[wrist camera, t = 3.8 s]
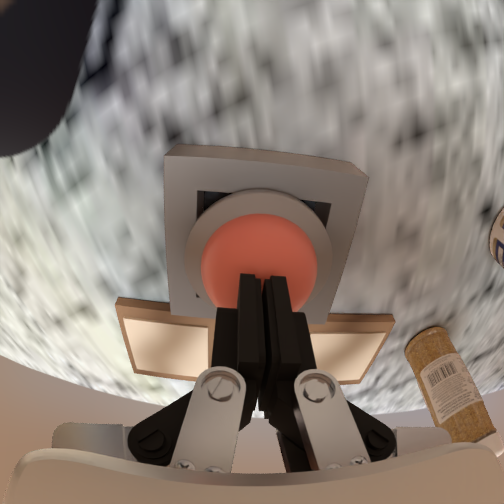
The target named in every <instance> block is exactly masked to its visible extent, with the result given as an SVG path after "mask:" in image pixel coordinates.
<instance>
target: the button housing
mask: <svg viewBox="0 0 504 504" xmlns="http://www.w3.org/2000/svg"><path fill="white" fill-rule="evenodd" d="M368 179H369V177H368V176H367V175H366V174H364V173H363V172H362V171H361V170H360V169H358V168H357V167H356V166H355V165H353V164H352V163H351V162H346V161H340V160H334V159H328V158H321V157H315V156H308V155H301V154H293V153H285V152H277V151H268V150H258V149H248V148H236V147H223V146H207V145H186V144H177V145H176V146H175V147H173V148H172V149H171V150H170V151H169V152H168V153H167V154H165V155H164V215H165V241H166V259H167V274H168V287H169V299H170V309H171V315H179V316H188V317H199V318H210V319H216V311H217V310H216V309H214V308H212V307H211V306H210V305H208V304H207V303H206V302H204V301H203V300H202V299H201V298H200V297H199V296H198V294H197V293H196V292H195V291H194V289H193V287H192V286H191V284H190V282H189V280H188V277H187V274H186V270H185V264H184V253H185V248H186V243H187V240H188V237H189V235H190V232H191V230H192V227H193V226H194V224H195V222H196V220H197V219H198V218H199V217H200V215H201V214H202V213H203V206H204V191H214V192H227V193H236V192H241V191H245V190H255V189H264V190H273V191H278V192H282V193H285V194H288V195H290V196H293V197H295V198H297V199H300V200H309V201H316V204H315V209H314V212H315V214H316V215H317V216H318V217H319V219H320V220H321V222H322V223H323V225H324V227H325V229H326V231H327V234H328V236H329V238H330V242H331V245H332V253H333V259H332V267H331V272H330V274H329V277H328V279H327V281H326V283H325V285H324V287H323V288H322V289H321V291H320V292H319V293H318V294H317V295H316V297H315V298H314V299H313V300H311V301H310V302H309V303H308V304H306V305H305V306H303V307H302V308H300V309H299V310H298V311H297V312H304V313H305V315H306V319H307V324H322V325H325V323H326V320H327V317H328V314H329V312H330V309H331V306H332V303H333V300H334V297H335V294H336V291H337V288H338V285H339V282H340V279H341V276H342V273H343V270H344V266H345V263H346V260H347V257H348V253H349V250H350V246H351V243H352V240H353V236H354V233H355V229H356V225H357V222H358V218H359V214H360V211H361V207H362V203H363V199H364V195H365V191H366V187H367V183H368Z"/></svg>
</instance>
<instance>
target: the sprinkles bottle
mask: <svg viewBox="0 0 504 504" xmlns="http://www.w3.org/2000/svg"><path fill="white" fill-rule="evenodd" d="M405 357H406V359H407V360H408V361H409V363H410V365H411V367H412V369H413V372H414V374H415V376H416V379H417V381H418V386H419V388H420V391H421V393H422V396H423V398H424V400H425V403H426V405H427V408H428V410H429V411H430V413H431V416H432V418H433V421H434V424H435V427H440V428H443V429H445V430H446V431H448V433H449V434H450V436H451V439H452V443H458V442H471V443H477V444H481V445H484V446H487V447H488V448H490V449H491V450H492V451H493V452H494V453H495V455H496V456H497V457H498V456H499V455H501V454H502V453H503V452H504V445H503V442H502V439H501V437H500V434H499V433H498V432H496V428H494V426H493V424H492V422H491V419H490V417H489V415H488V412H487V410H486V408H485V405H484V402H483V400H482V397H481V395H480V393H479V391H478V389H477V387H476V385H475V383H474V381H473V379H472V377H471V375H470V374H469V372H468V370H467V368H466V366H465V364H464V362H463V360H462V359H461V357H460V355H459V354H458V353H457V351H456V349H455V348H454V346H453V344H452V343H451V341H450V339H449V337H448V334H447V331H446V330H445V329H444V328H442V327H433V328H429V329H427V330H425V331H423V332H421V333H420V334H419V335H417V336H416V337H415V338H414V339H413V340H412V341H411V342H410V343H409V345H408V346H407V348H406V350H405Z"/></svg>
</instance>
